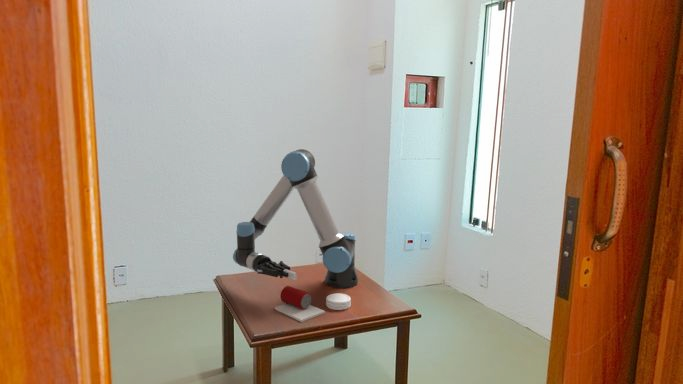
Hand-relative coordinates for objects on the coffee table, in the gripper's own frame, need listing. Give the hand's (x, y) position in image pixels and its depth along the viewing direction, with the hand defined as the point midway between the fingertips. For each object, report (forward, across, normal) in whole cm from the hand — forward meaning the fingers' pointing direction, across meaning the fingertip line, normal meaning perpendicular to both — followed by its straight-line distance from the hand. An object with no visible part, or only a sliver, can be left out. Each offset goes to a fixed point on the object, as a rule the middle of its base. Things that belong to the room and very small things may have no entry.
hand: (295, 276), depth 189 cm
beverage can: (-8, -1, -9) cm, 12 cm away
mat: (+3, 0, -14) cm, 14 cm away
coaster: (+9, -15, -14) cm, 23 cm away
